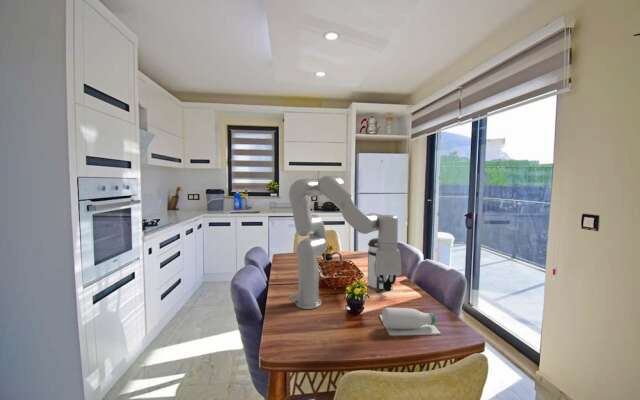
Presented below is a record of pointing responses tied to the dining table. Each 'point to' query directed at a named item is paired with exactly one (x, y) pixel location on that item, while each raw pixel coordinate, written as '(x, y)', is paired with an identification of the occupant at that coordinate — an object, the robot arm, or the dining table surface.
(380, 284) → the coffee press
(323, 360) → the dining table surface
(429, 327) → the mat
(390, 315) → the milk bottle
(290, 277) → the dining table surface
